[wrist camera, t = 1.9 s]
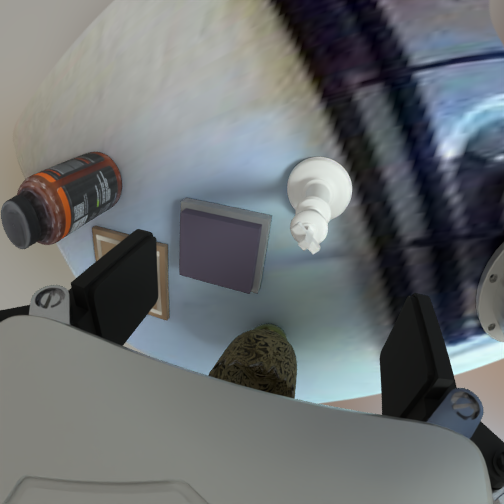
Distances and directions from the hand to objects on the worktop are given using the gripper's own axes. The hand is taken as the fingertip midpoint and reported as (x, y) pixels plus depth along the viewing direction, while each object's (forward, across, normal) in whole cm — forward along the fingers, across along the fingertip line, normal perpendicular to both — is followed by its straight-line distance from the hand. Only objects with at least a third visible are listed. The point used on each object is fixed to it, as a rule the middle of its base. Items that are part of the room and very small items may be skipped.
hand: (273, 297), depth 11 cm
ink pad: (+15, +6, +7) cm, 17 cm away
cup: (+15, +1, +15) cm, 21 cm away
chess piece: (+15, -1, 0) cm, 15 cm away
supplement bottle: (+15, +19, +3) cm, 25 cm away
